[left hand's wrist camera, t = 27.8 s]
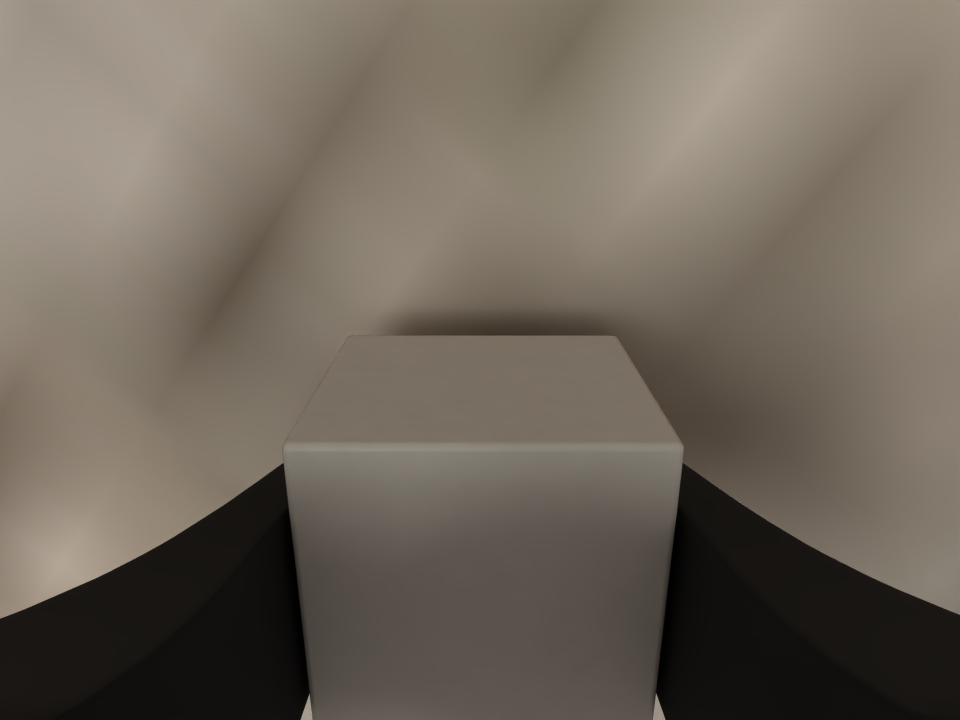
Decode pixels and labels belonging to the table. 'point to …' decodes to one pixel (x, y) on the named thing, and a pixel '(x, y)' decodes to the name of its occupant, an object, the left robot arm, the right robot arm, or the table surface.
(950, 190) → the table surface
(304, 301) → the table surface
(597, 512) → the grey square block
